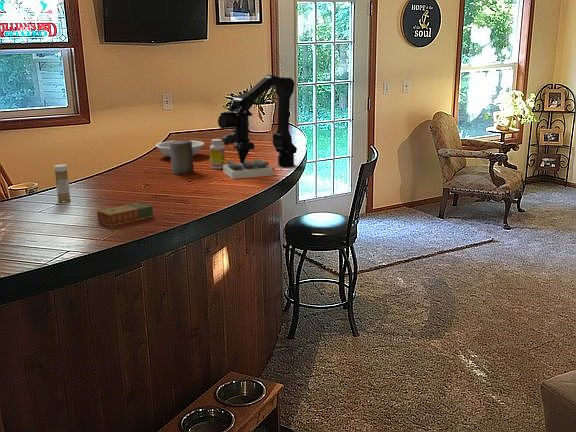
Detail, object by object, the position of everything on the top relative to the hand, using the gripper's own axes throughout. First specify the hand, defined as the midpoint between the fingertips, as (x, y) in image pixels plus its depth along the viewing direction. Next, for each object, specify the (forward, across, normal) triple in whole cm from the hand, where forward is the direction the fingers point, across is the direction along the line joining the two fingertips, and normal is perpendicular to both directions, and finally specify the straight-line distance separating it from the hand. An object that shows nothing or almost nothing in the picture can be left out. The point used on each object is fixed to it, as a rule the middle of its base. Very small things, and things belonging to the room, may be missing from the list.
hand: (241, 163), depth 274 cm
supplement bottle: (+5, -18, -6) cm, 20 cm away
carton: (+7, +54, -54) cm, 77 cm away
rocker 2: (+1, 0, +2) cm, 3 cm away
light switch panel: (+5, 0, +4) cm, 6 cm away
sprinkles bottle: (+7, +20, -73) cm, 76 cm away
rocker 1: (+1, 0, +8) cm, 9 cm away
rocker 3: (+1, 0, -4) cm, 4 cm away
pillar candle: (+6, -14, -23) cm, 28 cm away
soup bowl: (+5, -52, -17) cm, 55 cm away
